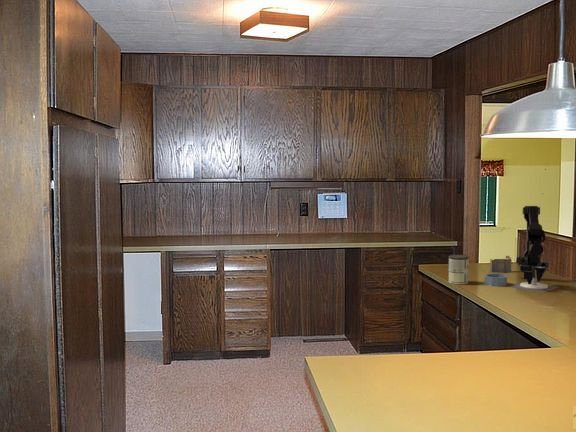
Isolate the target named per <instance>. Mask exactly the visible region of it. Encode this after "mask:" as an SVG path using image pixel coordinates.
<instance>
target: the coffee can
mask: <svg viewBox="0 0 576 432" xmlns="http://www.w3.org/2000/svg"><path fill="white" fill-rule="evenodd" d="M469 258H470V257H469V255H465V254H449V255H448V283H450V284H453V285H465V284H466V285H467V284H469Z"/></svg>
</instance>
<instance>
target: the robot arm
mask: <svg viewBox="0 0 576 432" xmlns="http://www.w3.org/2000/svg"><path fill="white" fill-rule="evenodd" d="M522 215H523V218H524V220H525V222H526V240H525V241H526V247H525V248H526V249H525V251H524V252H523V254H522V256H518V257H516V259H515V260H516V261H515V263H516V264H518V266H519V270H520V271H521V273H523V277H521V279H523V280H527V281H526V282H528V284H531V282H532V280H533V278H537V283H541V280H542V278H543V276H544V274H545V272H546V270H548V268H549V267H550V265H549V262H548V261H545V260H542V257H543V253H544V247H543V245H542V243H545V241H546V232H545V230H544V229H543V226H542V224H540V222H539V215H541V207H540V206H537V205H525V206H524V207H522Z"/></svg>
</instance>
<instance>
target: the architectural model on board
mask: <svg viewBox="0 0 576 432" xmlns="http://www.w3.org/2000/svg"><path fill="white" fill-rule="evenodd" d="M489 263H490V264H489V265H490V266H489V272H490V273H512V258H511V256H510V255H505V258H494V259H491V258H490V261H489Z"/></svg>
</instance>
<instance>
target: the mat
mask: <svg viewBox="0 0 576 432" xmlns="http://www.w3.org/2000/svg"><path fill="white" fill-rule="evenodd" d="M525 282H526V281H523V282H520V283H517V284H516V283H515V284H513V285H510V286H509V285H508V288H511V289H518V290H525V291H531V292H535V293H536V292H538V293H545V292H550V291H552V290H555V289H558V288H560V286H557V285H556V286H555V285H551V284H550V285H549V284H547V285H548V288H547V289H543V290H534V289H526V288H522V287H520V284H521V283H525Z"/></svg>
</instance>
